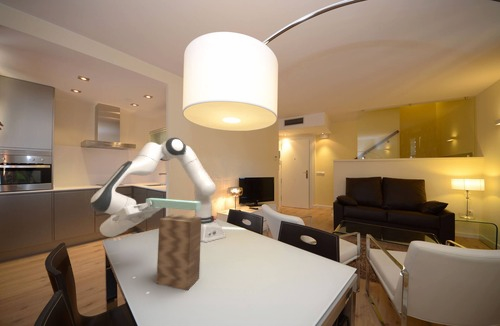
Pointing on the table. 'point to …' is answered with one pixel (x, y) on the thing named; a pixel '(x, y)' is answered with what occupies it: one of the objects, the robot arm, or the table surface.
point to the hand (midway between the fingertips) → (155, 201)
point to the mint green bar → (175, 204)
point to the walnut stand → (179, 251)
